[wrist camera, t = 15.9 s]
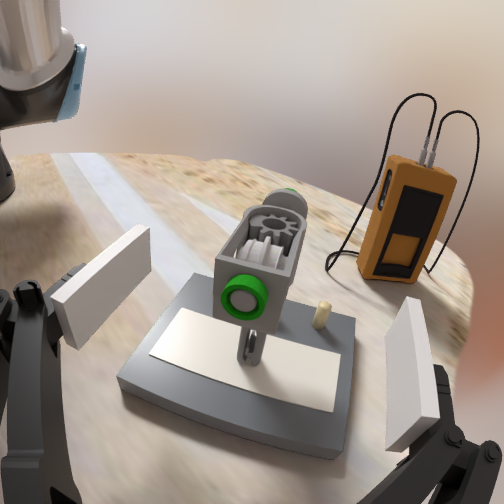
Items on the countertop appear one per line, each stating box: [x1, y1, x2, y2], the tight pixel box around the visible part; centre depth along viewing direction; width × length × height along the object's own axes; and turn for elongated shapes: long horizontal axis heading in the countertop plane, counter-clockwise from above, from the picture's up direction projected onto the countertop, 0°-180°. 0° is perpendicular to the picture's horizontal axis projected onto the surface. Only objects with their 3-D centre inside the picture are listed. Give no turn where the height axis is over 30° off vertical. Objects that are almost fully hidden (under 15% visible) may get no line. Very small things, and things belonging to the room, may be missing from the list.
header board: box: [116, 273, 356, 460], centre depth 21 cm, size 14×12×4 cm
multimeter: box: [325, 93, 479, 283], centre depth 31 cm, size 15×10×20 cm
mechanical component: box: [212, 188, 308, 367], centre depth 17 cm, size 3×10×10 cm, turn 166°
